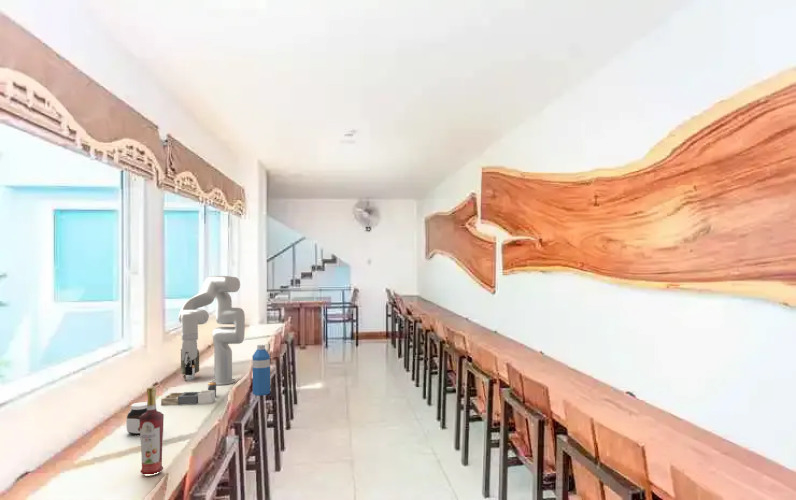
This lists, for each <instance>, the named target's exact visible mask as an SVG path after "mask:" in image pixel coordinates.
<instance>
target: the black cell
mask: <svg viewBox="0 0 796 500" xmlns="http://www.w3.org/2000/svg"><path fill="white" fill-rule="evenodd" d="M207 390H215V398H216V397H217V385H216V382H212V381H211V382H207Z"/></svg>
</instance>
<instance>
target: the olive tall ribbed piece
mask: <svg viewBox="0 0 796 500" xmlns="http://www.w3.org/2000/svg"><path fill="white" fill-rule="evenodd" d="M188 360H189V359H188ZM184 361H185V360H184ZM184 361H182V348H181V349H180V372H181V374H182V378H184V381H185V382H188V381H187V380H186V374H185V363H184ZM195 362H196V364H194V365H196V372H195V374H197V373H199V372H200V351H199V349H198V348H197V357H196V359H195Z"/></svg>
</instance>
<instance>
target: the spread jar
mask: <svg viewBox="0 0 796 500" xmlns="http://www.w3.org/2000/svg"><path fill="white" fill-rule="evenodd" d="M147 402H148V401H145V402H144V401H141V402H135V403H132V404H131V405H130V410H129V412H128V413H127V415H126V419H125V420H126V424H125V425H126V431H127V433H128V434H129V435H131V436H133V437H134V436H135V435H136V436H137V435H139V436H140V420H139V417H140V416H141V415H142V414H144V413H146V412H147ZM137 437H138V436H137Z"/></svg>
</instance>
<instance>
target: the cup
mask: <svg viewBox="0 0 796 500" xmlns="http://www.w3.org/2000/svg"><path fill="white" fill-rule="evenodd" d="M198 392H199V393H198V403H197V405H202V404H203V405H211V404H213V403H214V402H215V401H216V397H215V390H208V389H207V390H200V391H198Z"/></svg>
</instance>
